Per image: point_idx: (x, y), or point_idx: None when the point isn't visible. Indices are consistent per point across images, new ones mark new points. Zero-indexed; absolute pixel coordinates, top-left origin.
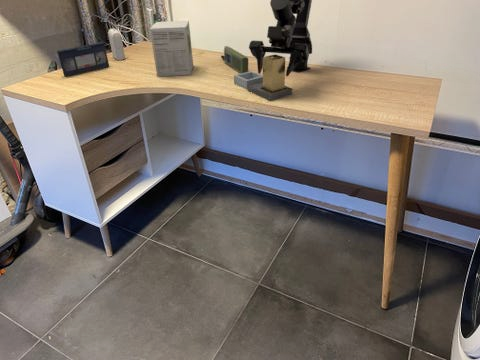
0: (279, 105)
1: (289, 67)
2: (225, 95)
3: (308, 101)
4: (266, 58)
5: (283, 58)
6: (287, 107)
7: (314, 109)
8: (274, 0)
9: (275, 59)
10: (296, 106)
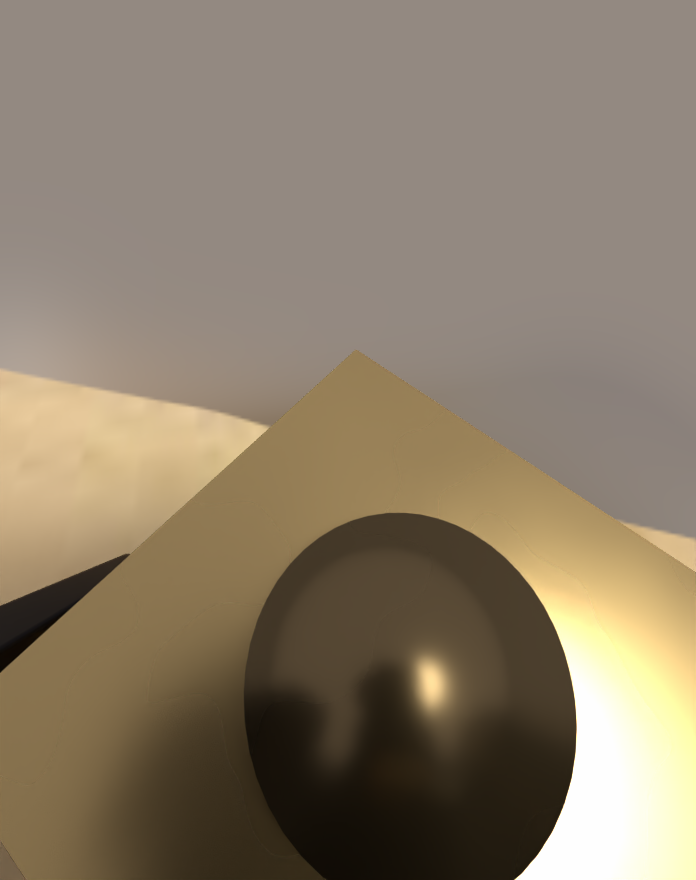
0: (254, 436)
1: (15, 611)
2: (689, 551)
3: (25, 543)
4: (577, 497)
5: (43, 652)
6: (199, 414)
7: (18, 409)
8: None
9: (301, 427)
10: (137, 437)
